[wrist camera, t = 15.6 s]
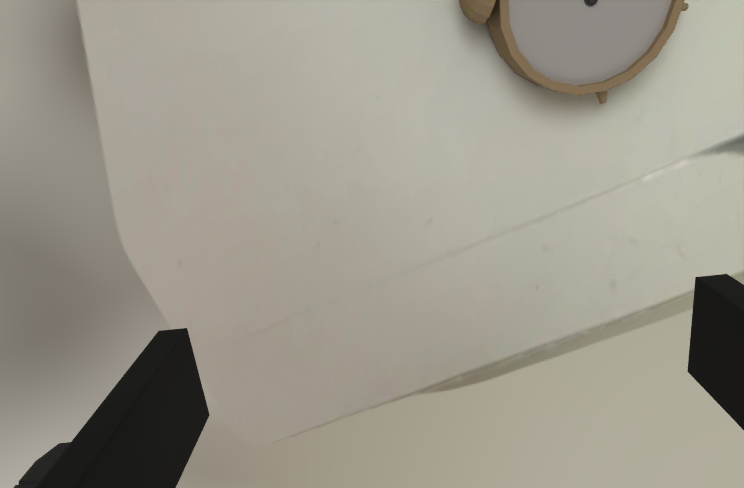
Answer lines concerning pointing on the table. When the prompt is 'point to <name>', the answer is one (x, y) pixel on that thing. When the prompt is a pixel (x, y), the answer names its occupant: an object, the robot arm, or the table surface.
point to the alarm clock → (577, 39)
